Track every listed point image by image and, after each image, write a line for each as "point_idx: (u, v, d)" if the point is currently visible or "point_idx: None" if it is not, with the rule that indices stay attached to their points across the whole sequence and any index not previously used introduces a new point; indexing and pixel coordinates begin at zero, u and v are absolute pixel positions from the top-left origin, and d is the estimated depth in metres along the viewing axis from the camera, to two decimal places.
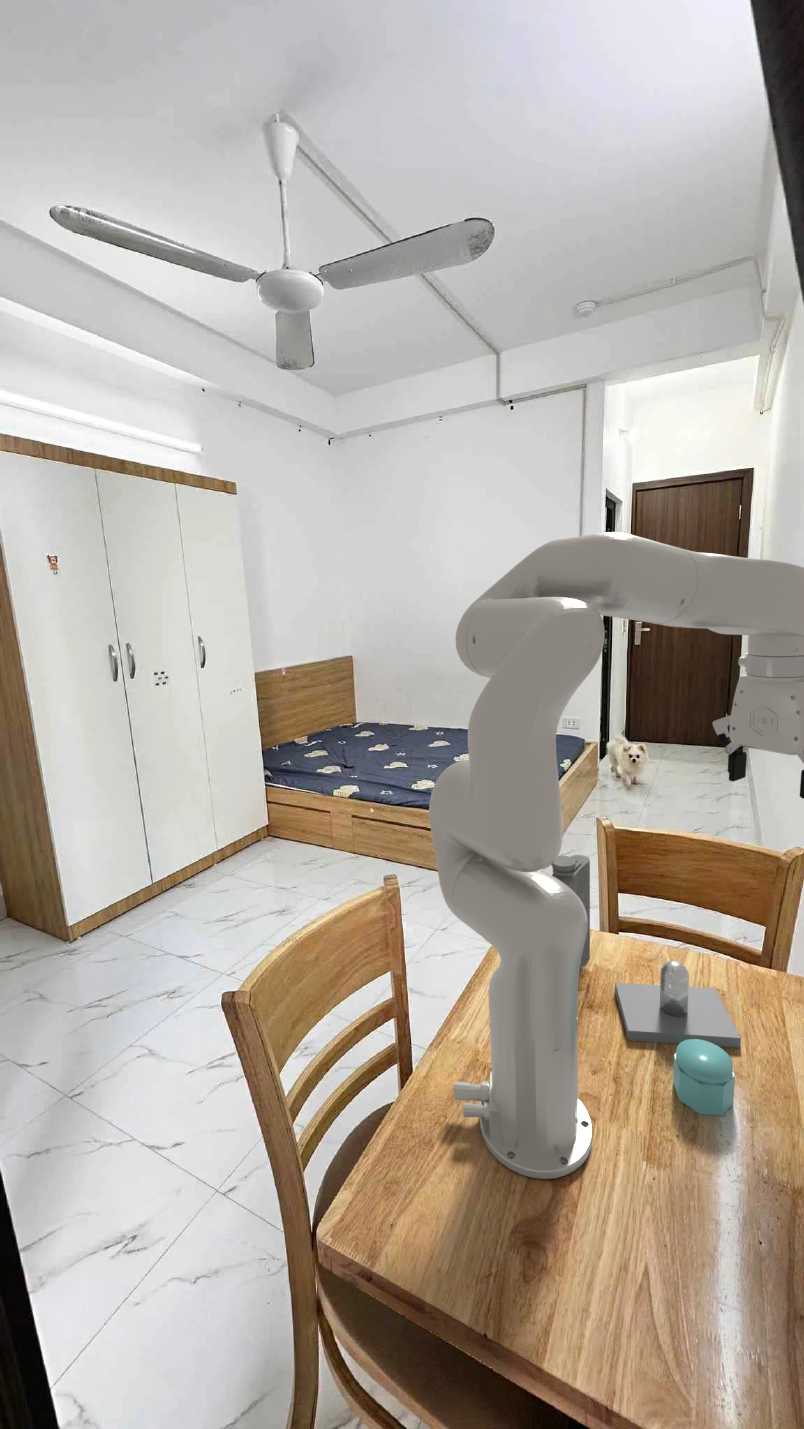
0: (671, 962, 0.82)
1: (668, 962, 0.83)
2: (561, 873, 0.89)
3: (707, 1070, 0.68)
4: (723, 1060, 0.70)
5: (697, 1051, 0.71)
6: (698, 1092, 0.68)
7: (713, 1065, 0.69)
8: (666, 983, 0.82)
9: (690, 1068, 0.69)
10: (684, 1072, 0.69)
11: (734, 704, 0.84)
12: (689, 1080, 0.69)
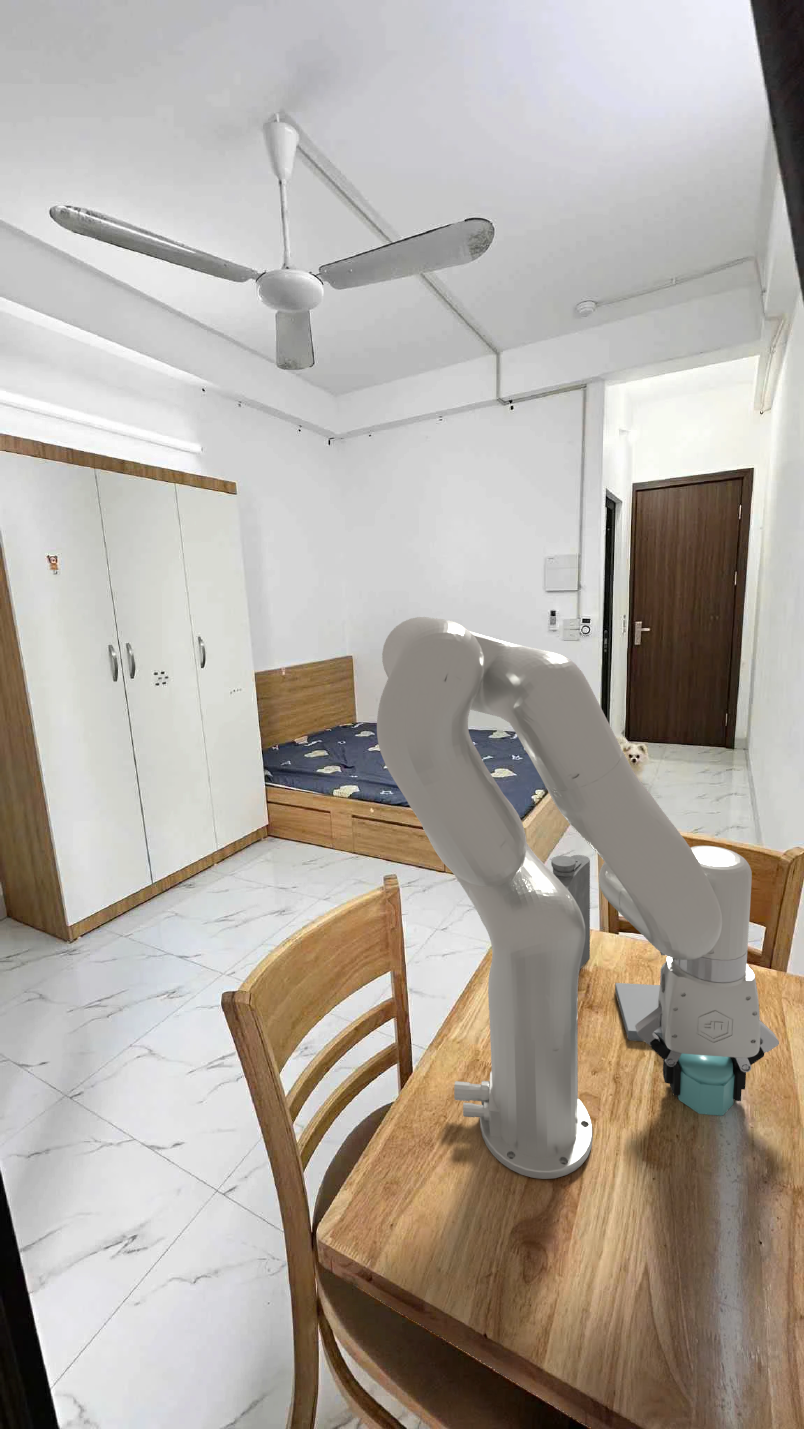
0: None
1: None
2: (561, 873, 0.89)
3: (707, 1070, 0.68)
4: (723, 1060, 0.70)
5: None
6: (698, 1092, 0.68)
7: (713, 1065, 0.69)
8: None
9: (691, 1068, 0.69)
10: (684, 1072, 0.69)
11: (673, 1008, 0.67)
12: (689, 1081, 0.69)
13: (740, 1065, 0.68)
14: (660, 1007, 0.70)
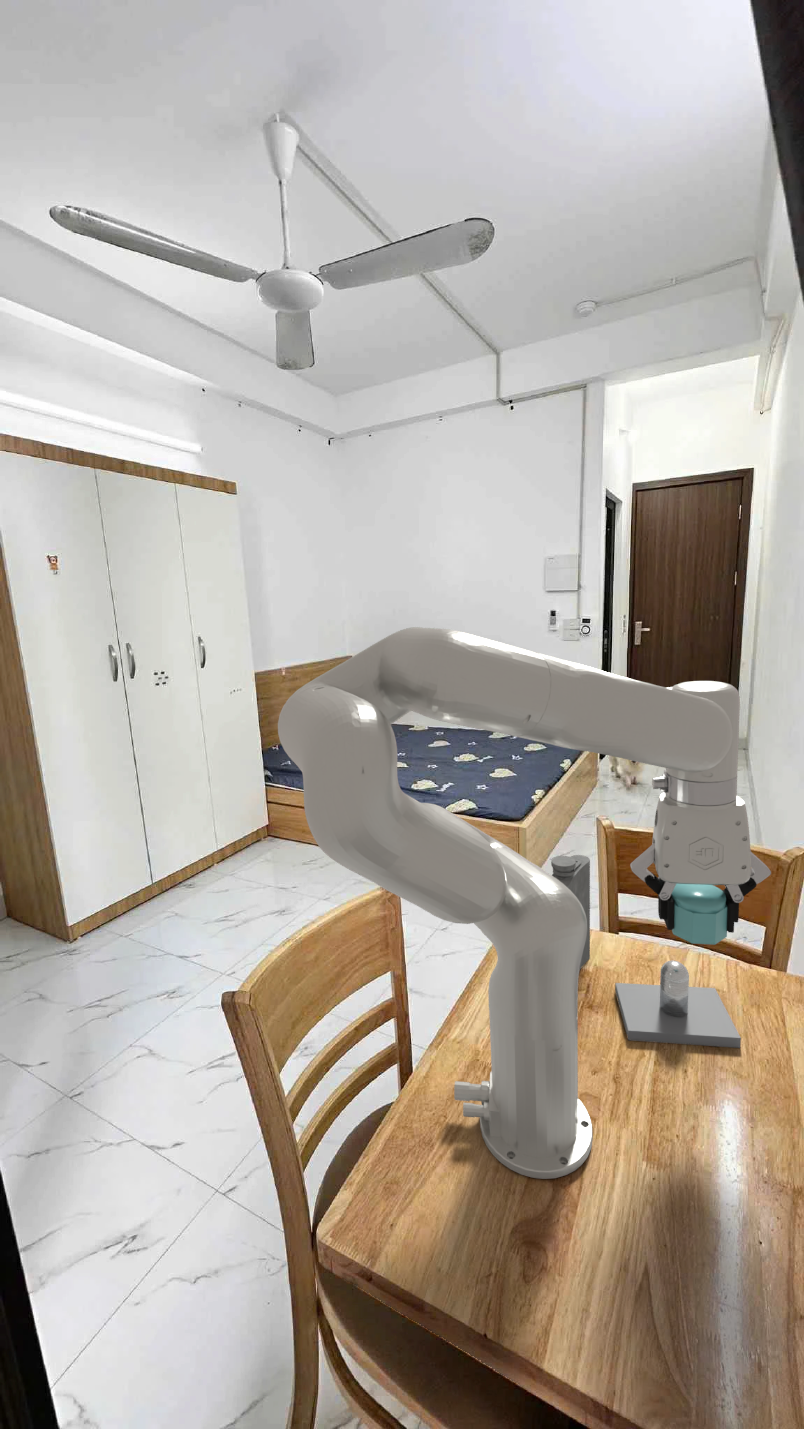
0: (671, 962, 0.82)
1: (668, 962, 0.83)
2: (561, 873, 0.89)
3: (700, 901, 0.71)
4: (717, 894, 0.72)
5: (692, 889, 0.73)
6: (691, 922, 0.70)
7: (706, 897, 0.71)
8: (666, 983, 0.82)
9: (684, 900, 0.71)
10: (678, 905, 0.72)
11: (664, 837, 0.69)
12: (682, 912, 0.71)
13: (732, 895, 0.70)
14: (654, 843, 0.73)
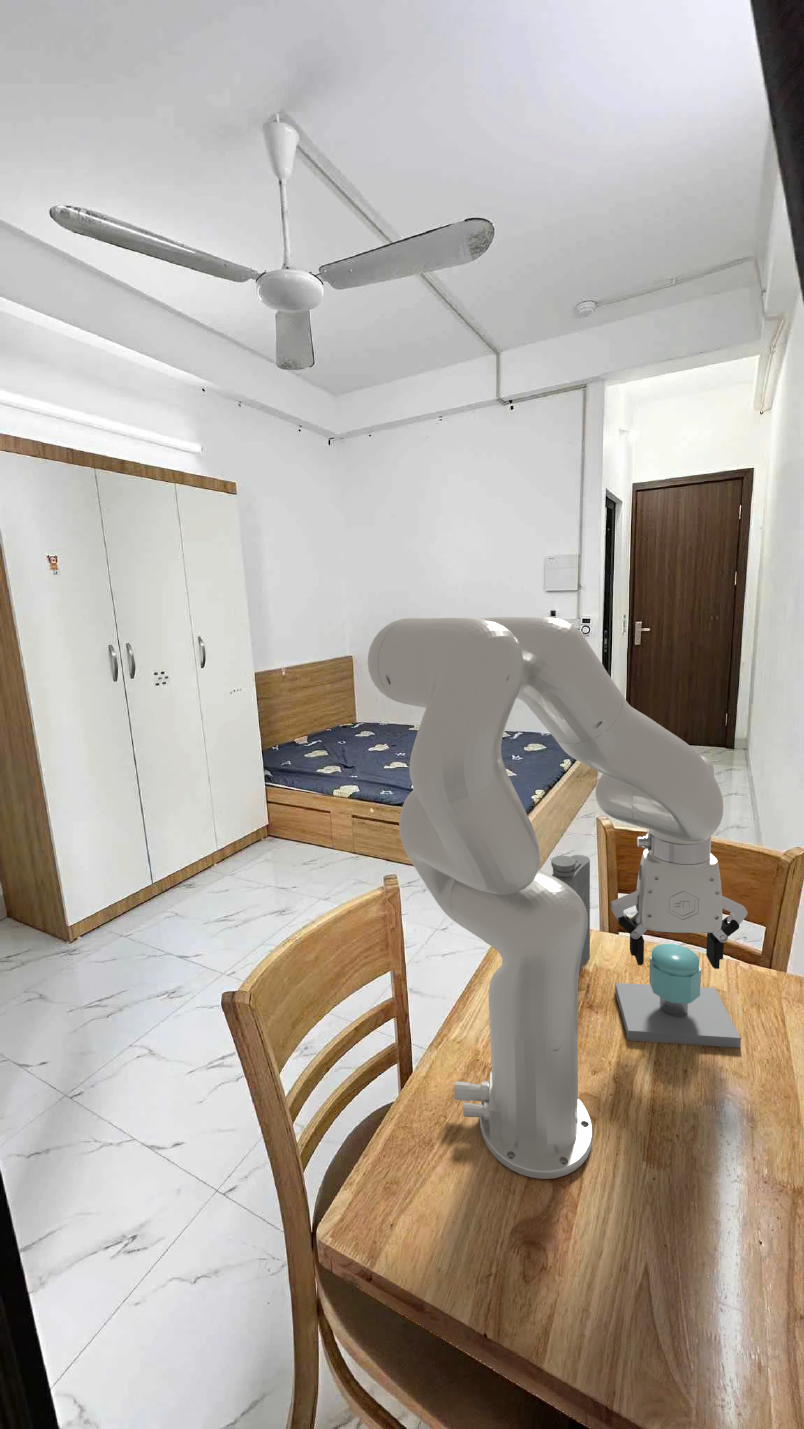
0: None
1: None
2: (561, 873, 0.89)
3: (677, 965, 0.80)
4: (691, 958, 0.81)
5: (669, 952, 0.83)
6: (669, 983, 0.80)
7: (682, 961, 0.81)
8: None
9: (663, 963, 0.81)
10: (658, 968, 0.81)
11: (647, 891, 0.78)
12: (661, 974, 0.81)
13: (718, 936, 0.79)
14: (637, 891, 0.81)
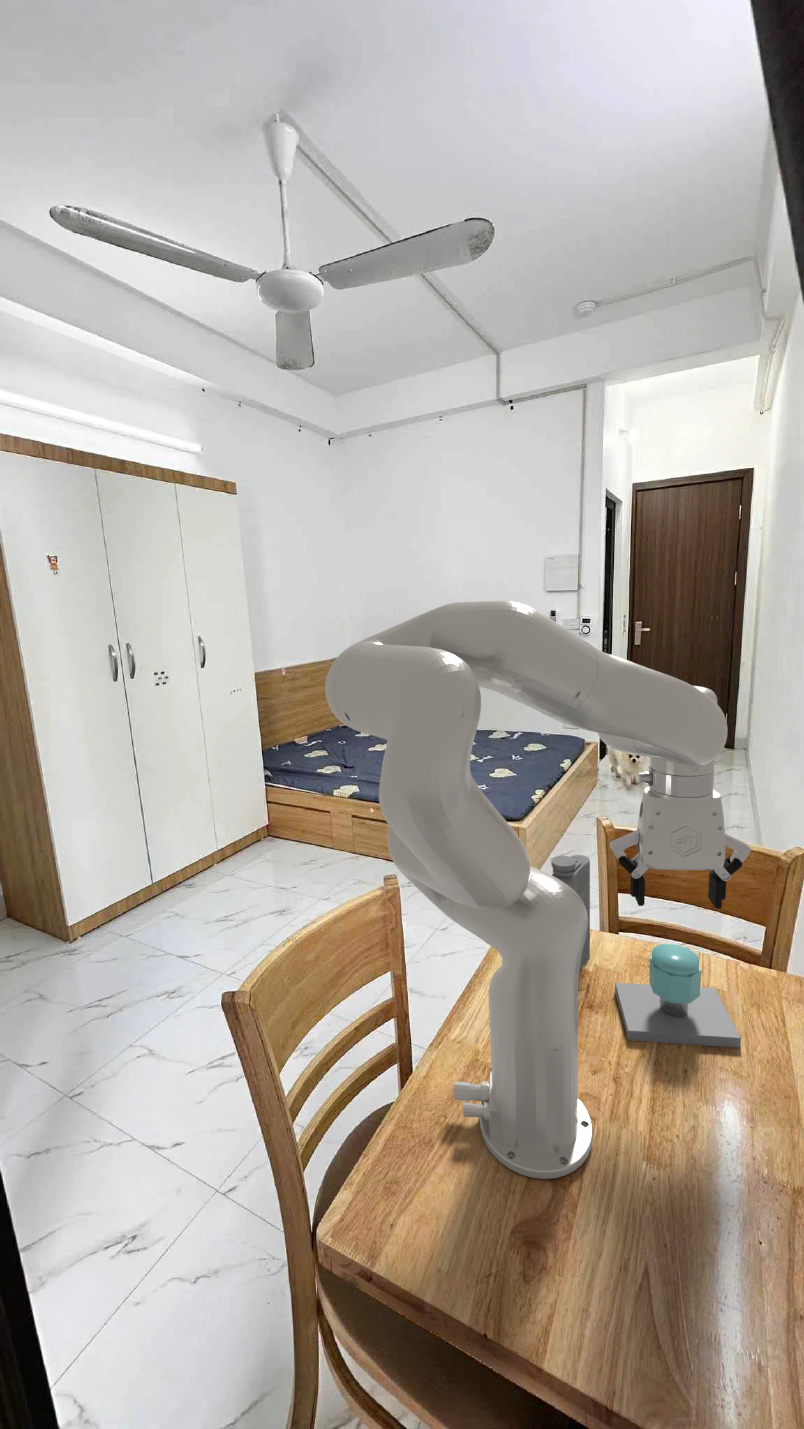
0: None
1: None
2: (561, 873, 0.89)
3: (677, 965, 0.80)
4: (691, 958, 0.81)
5: (669, 952, 0.83)
6: (669, 983, 0.80)
7: (682, 961, 0.81)
8: None
9: (663, 963, 0.81)
10: (658, 967, 0.81)
11: (649, 827, 0.76)
12: (661, 974, 0.81)
13: (721, 874, 0.77)
14: (638, 830, 0.79)
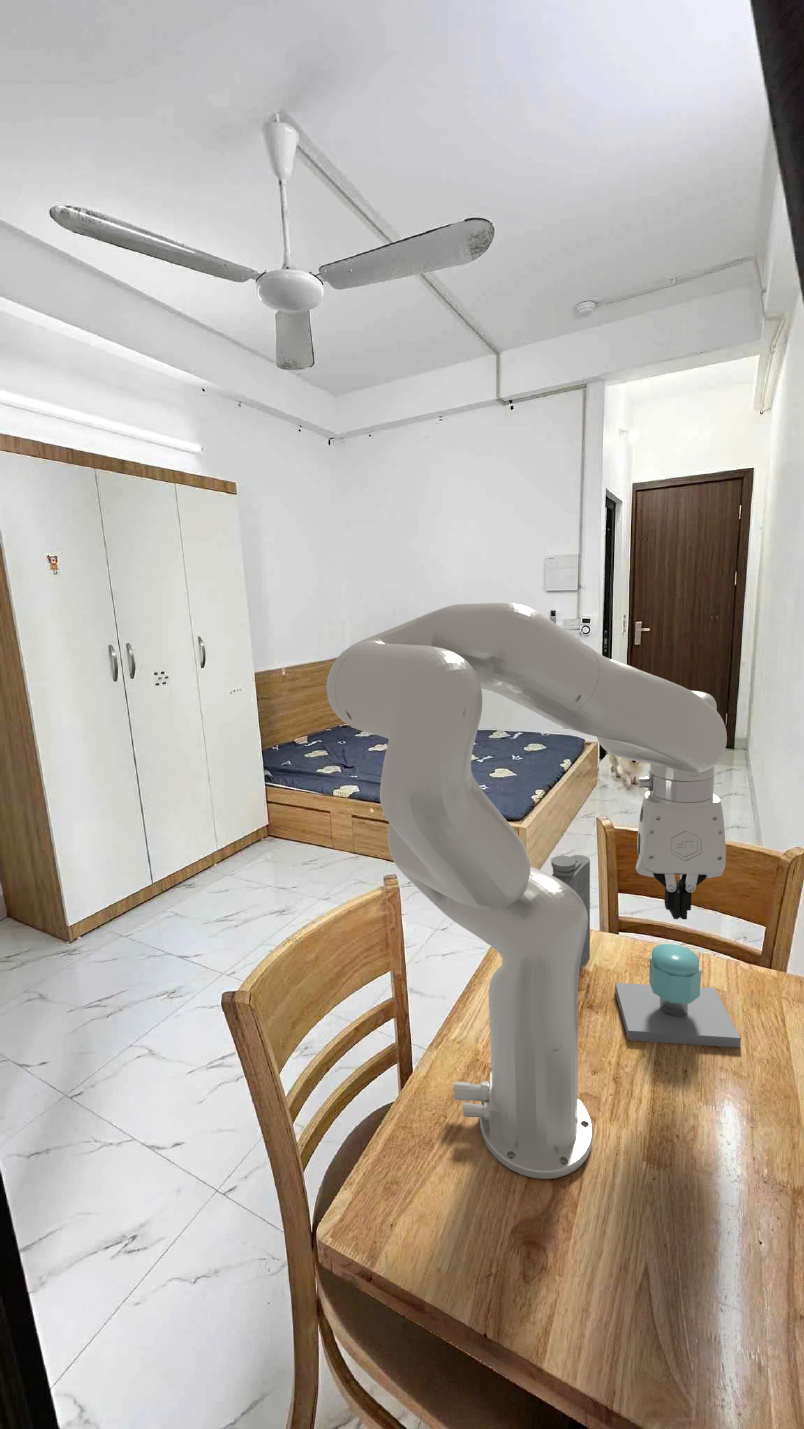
0: None
1: None
2: (561, 873, 0.89)
3: (677, 965, 0.80)
4: (691, 958, 0.81)
5: (669, 952, 0.83)
6: (669, 983, 0.80)
7: (682, 961, 0.81)
8: None
9: (663, 963, 0.81)
10: (658, 967, 0.81)
11: (649, 832, 0.76)
12: (661, 974, 0.81)
13: (686, 886, 0.78)
14: None
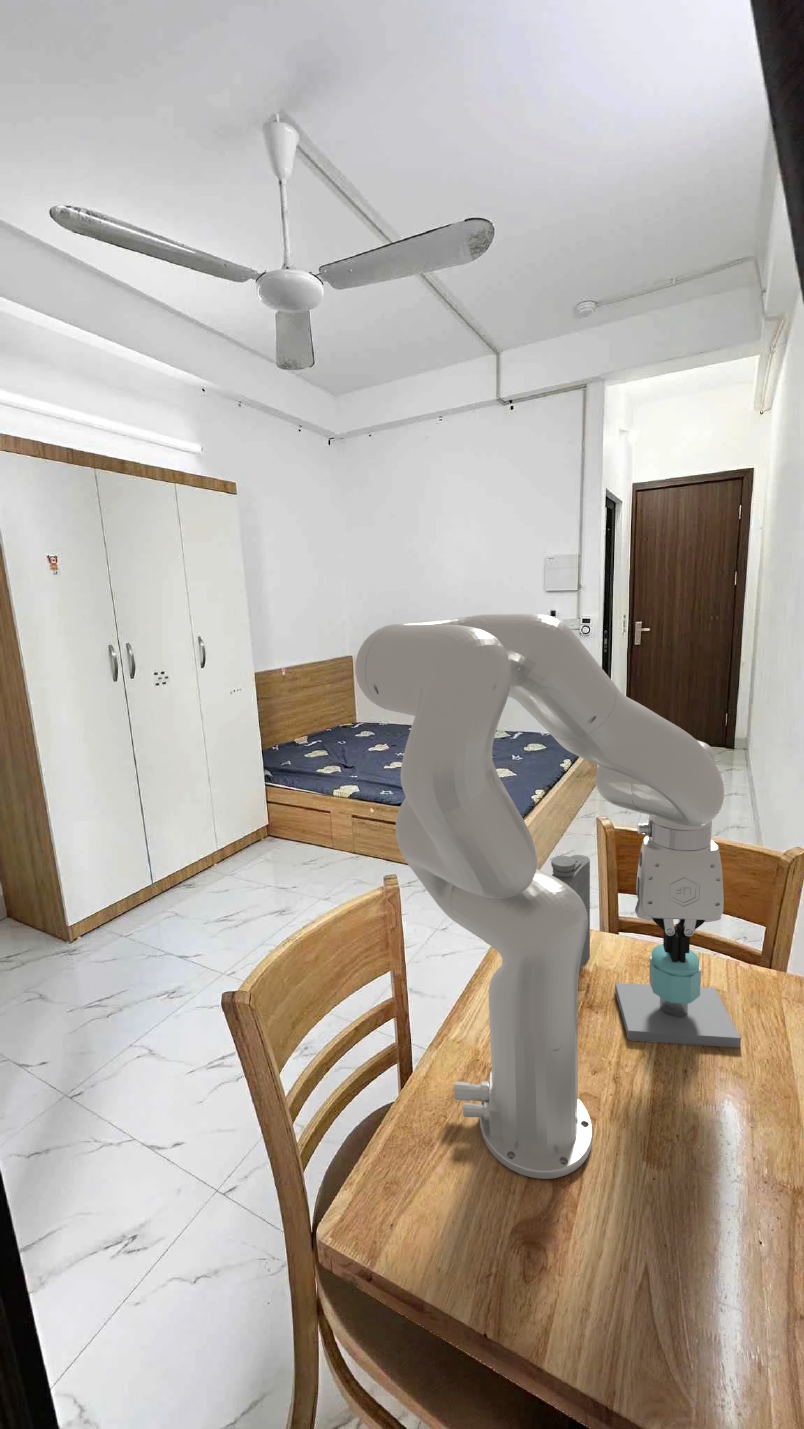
0: None
1: None
2: (561, 873, 0.89)
3: (677, 965, 0.80)
4: (691, 958, 0.81)
5: None
6: (669, 983, 0.80)
7: None
8: None
9: (663, 963, 0.81)
10: (658, 968, 0.81)
11: (648, 878, 0.78)
12: (661, 974, 0.81)
13: (684, 930, 0.80)
14: None
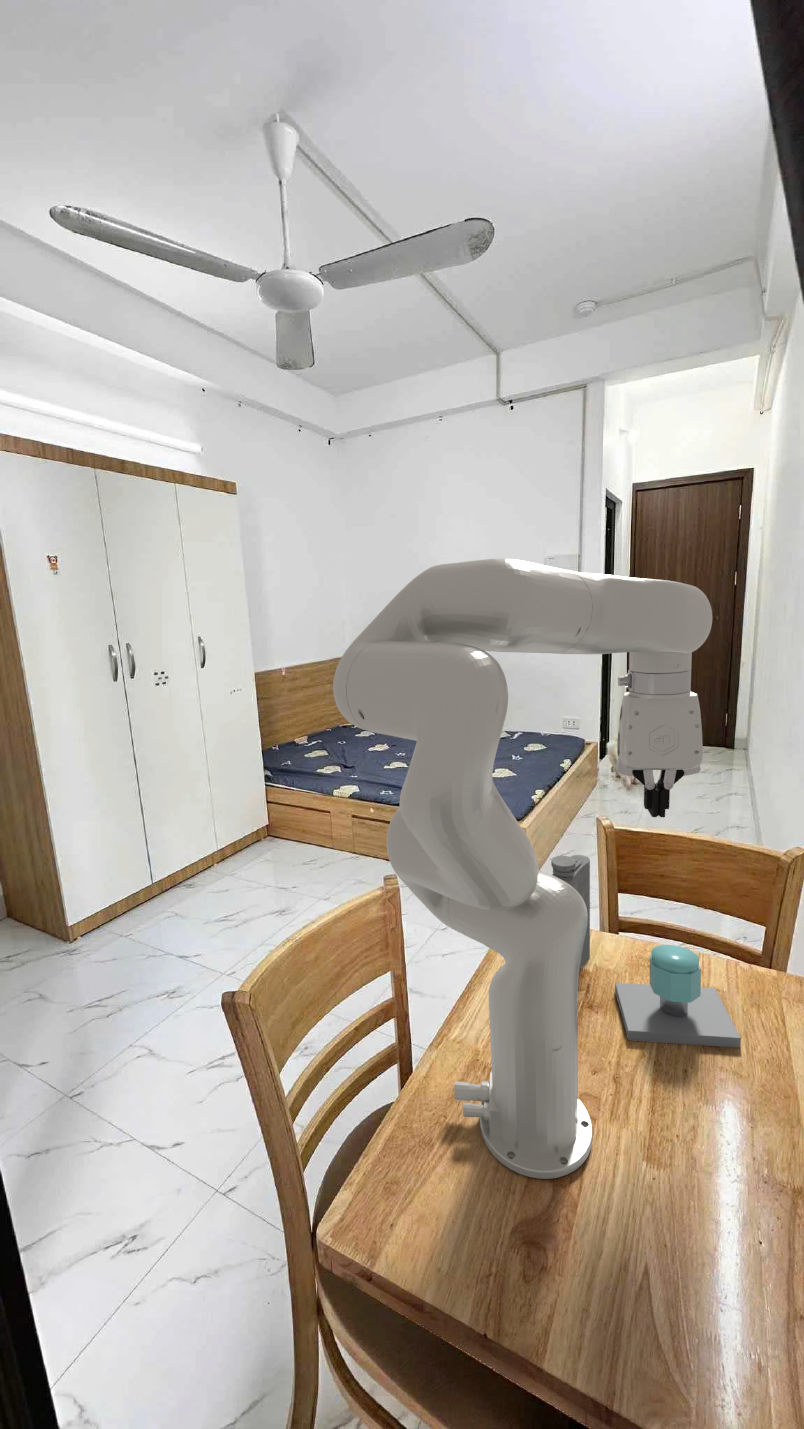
0: None
1: None
2: (561, 873, 0.89)
3: (677, 962, 0.80)
4: (691, 956, 0.82)
5: (669, 951, 0.83)
6: (670, 981, 0.80)
7: (682, 959, 0.81)
8: None
9: (663, 961, 0.81)
10: (658, 966, 0.81)
11: (628, 727, 0.78)
12: (662, 973, 0.81)
13: (664, 783, 0.80)
14: None
